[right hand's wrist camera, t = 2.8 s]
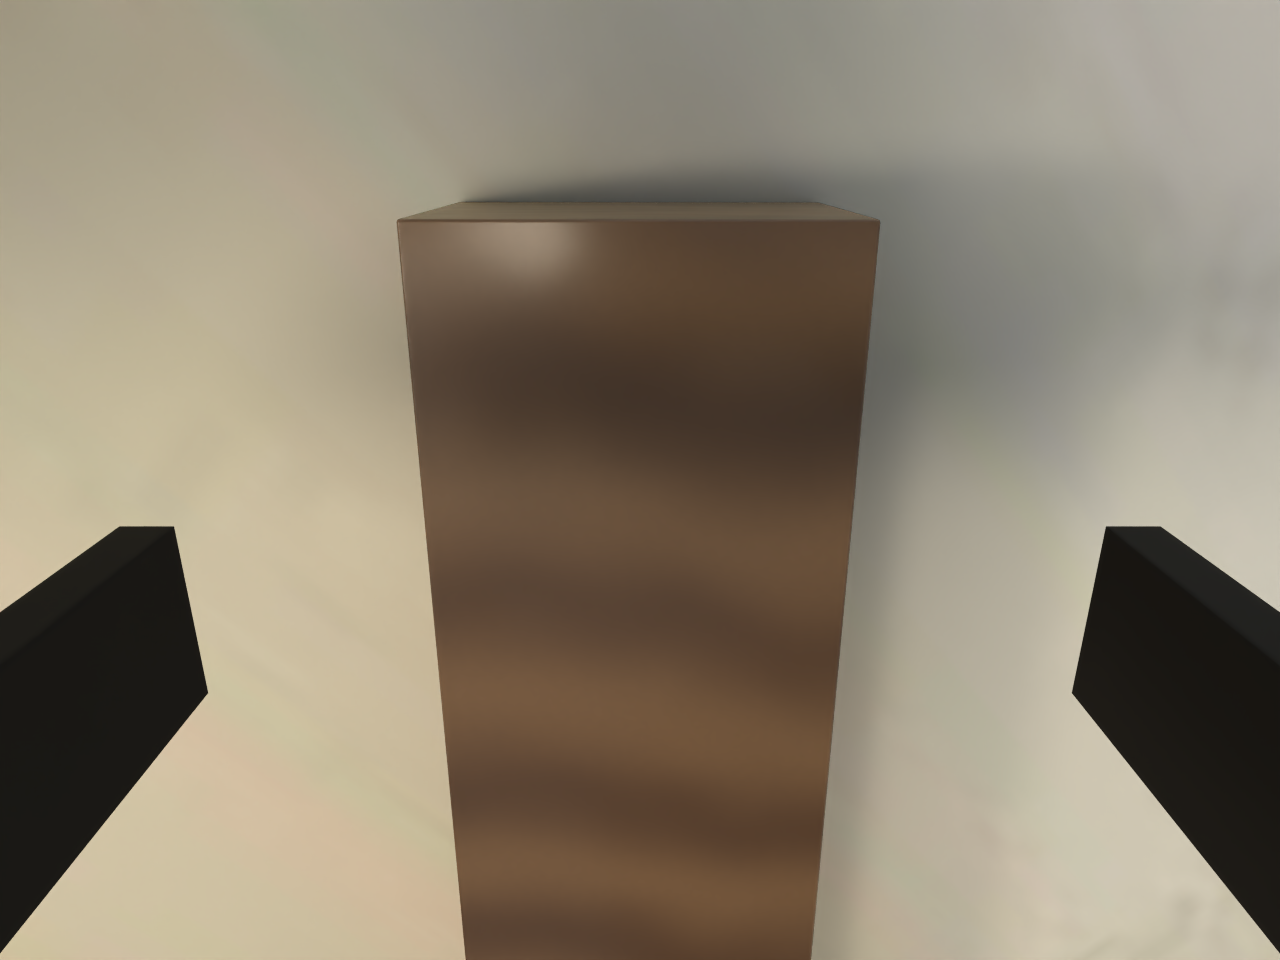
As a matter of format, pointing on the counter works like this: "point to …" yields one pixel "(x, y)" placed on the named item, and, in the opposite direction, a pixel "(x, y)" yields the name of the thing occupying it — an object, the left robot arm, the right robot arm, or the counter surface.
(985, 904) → the counter surface
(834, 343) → the wide beam
